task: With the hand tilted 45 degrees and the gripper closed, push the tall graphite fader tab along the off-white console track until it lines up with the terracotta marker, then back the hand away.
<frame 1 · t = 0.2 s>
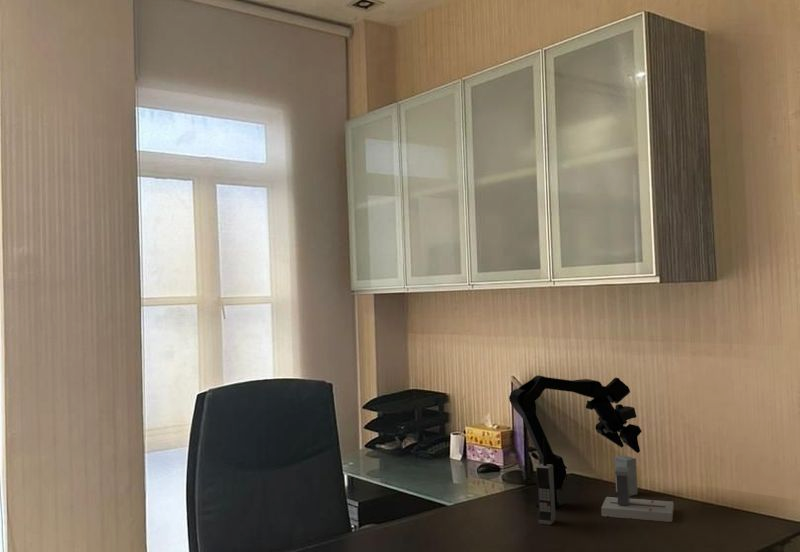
hand: (630, 449, 236), 15 cm above the table, tool tilted 35°, fingers open, 9 cm apart
skincare box: (626, 494, 237), on the table
fader tab: (623, 486, 218), point 8 cm above the table, slide at 0.0 cm
console: (637, 512, 216), on the table
vintage mobile phone: (547, 522, 211), on the table
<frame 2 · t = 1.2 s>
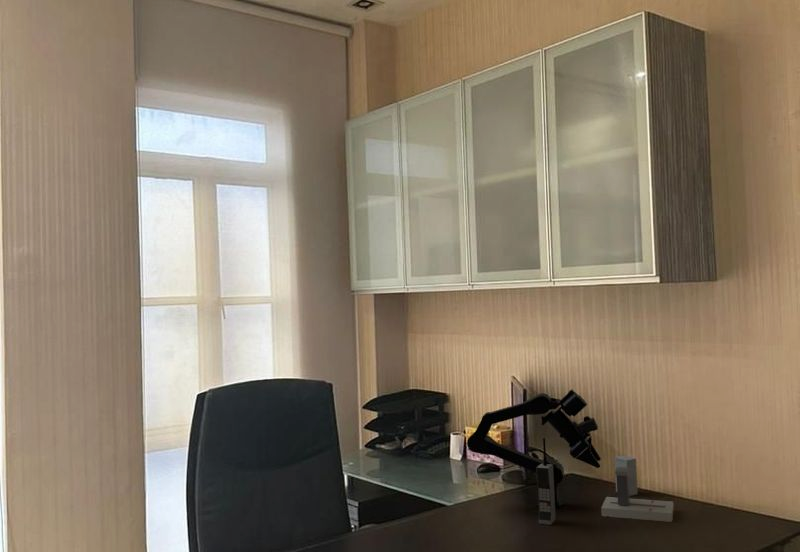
hand: (599, 463, 223), 14 cm above the table, tool tilted 40°, fingers open, 9 cm apart
nothing on the table moved.
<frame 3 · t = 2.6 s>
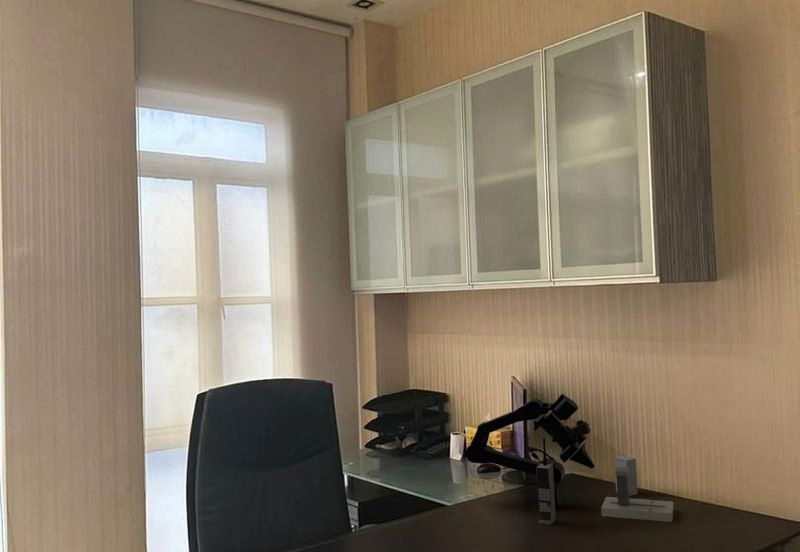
hand: (593, 467, 222), 13 cm above the table, tool tilted 45°, fingers closed
nothing on the table moved.
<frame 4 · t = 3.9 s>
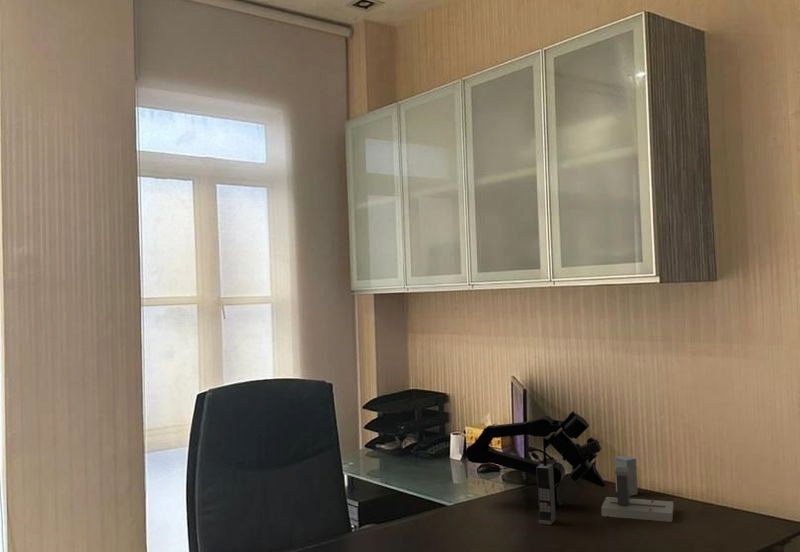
hand: (604, 485, 220), 8 cm above the table, tool tilted 45°, fingers closed
nothing on the table moved.
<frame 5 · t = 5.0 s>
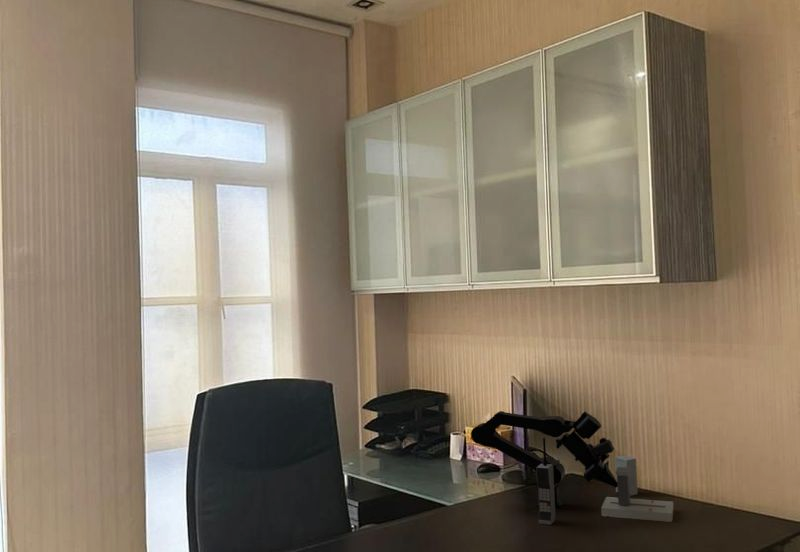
hand: (617, 486, 219), 8 cm above the table, tool tilted 45°, fingers closed, pressing on fader tab
fader tab: (623, 486, 218), point 8 cm above the table, slide at 0.2 cm, touching gripper
everything else where it was.
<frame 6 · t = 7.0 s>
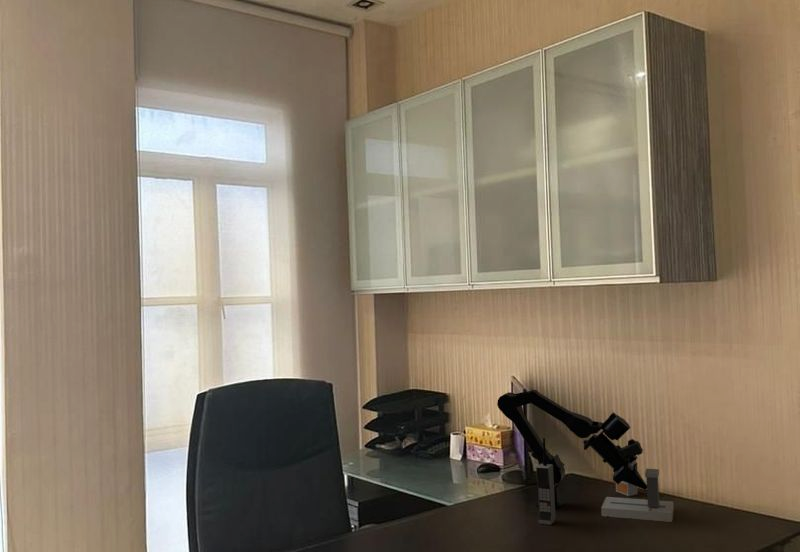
hand: (646, 488, 215), 8 cm above the table, tool tilted 45°, fingers closed, pressing on fader tab
fader tab: (652, 488, 215), point 8 cm above the table, slide at 8.7 cm, touching gripper
everything else where it was.
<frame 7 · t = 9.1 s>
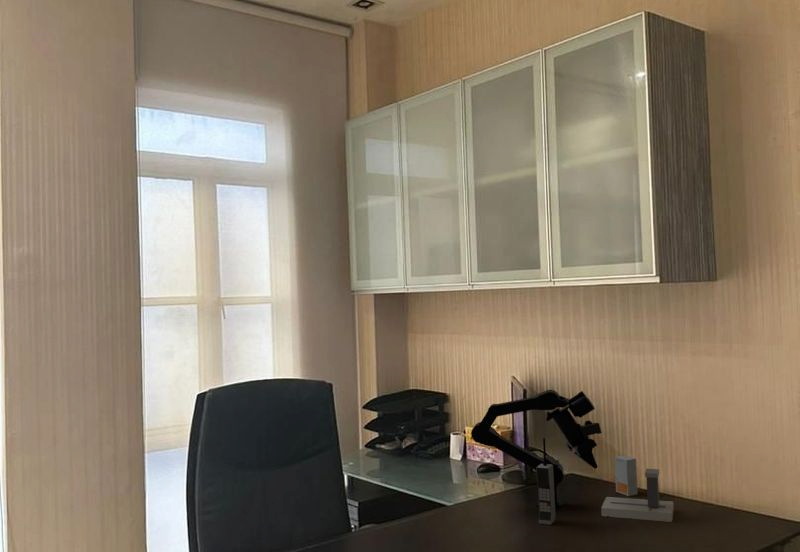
hand: (596, 467, 224), 12 cm above the table, tool tilted 30°, fingers closed
fader tab: (652, 488, 215), point 8 cm above the table, slide at 8.7 cm
everything else where it was.
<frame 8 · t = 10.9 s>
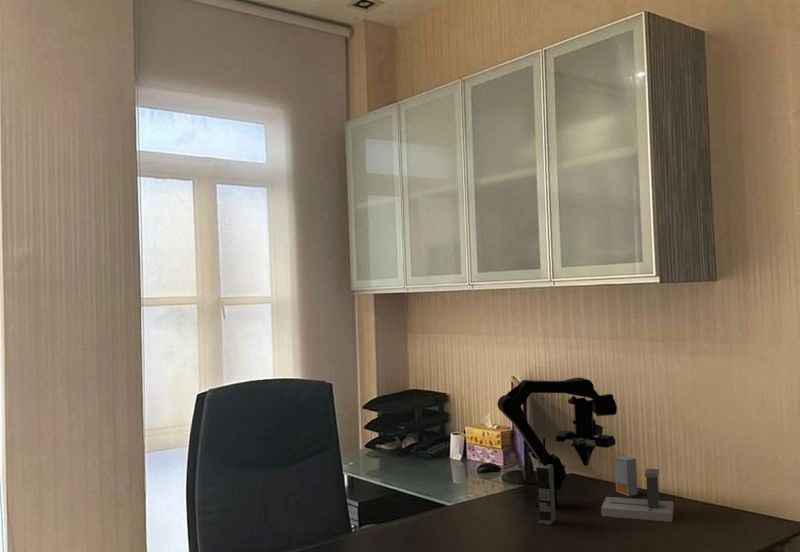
hand: (586, 465, 229), 12 cm above the table, tool pointing down, fingers closed
nothing on the table moved.
at the end: fader tab slide at 8.7 cm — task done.
